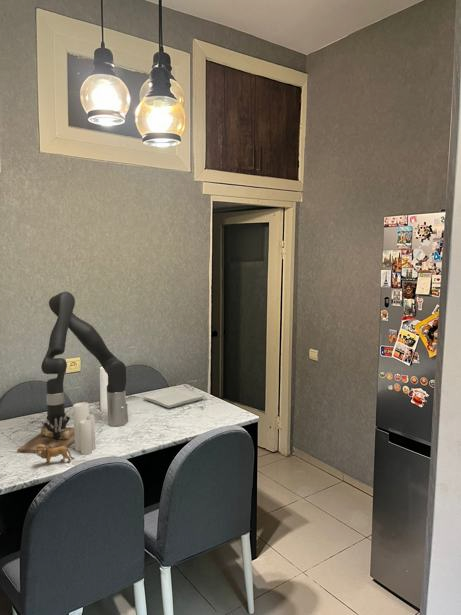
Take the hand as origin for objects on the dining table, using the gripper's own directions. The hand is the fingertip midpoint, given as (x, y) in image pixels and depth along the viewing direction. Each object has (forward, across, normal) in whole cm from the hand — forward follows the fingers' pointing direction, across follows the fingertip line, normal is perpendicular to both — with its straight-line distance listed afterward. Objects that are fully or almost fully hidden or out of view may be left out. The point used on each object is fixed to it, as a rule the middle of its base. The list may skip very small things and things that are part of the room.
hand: (56, 439), depth 208 cm
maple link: (+1, +3, +6) cm, 6 cm away
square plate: (+1, +80, +8) cm, 80 cm away
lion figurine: (+3, -11, -18) cm, 21 cm away
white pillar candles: (+3, +5, -15) cm, 16 cm away
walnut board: (+2, +2, +5) cm, 6 cm away
